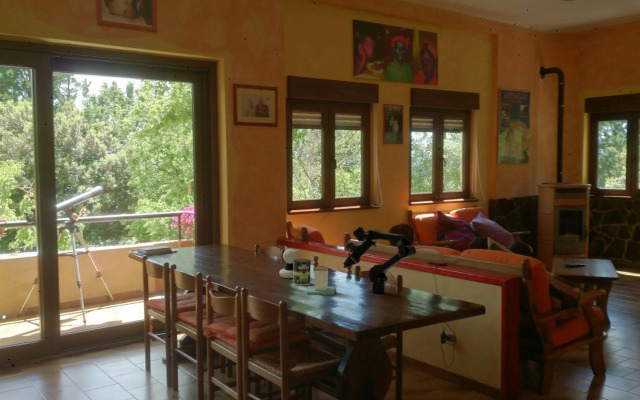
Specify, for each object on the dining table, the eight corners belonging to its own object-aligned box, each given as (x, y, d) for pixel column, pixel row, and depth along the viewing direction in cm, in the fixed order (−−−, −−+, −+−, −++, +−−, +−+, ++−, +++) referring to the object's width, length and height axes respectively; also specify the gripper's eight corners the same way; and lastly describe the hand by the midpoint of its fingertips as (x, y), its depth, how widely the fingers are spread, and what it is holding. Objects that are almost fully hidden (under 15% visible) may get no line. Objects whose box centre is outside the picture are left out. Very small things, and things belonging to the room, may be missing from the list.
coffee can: (312, 285, 341) (312, 261, 340) (295, 285, 338) (295, 261, 337) (308, 281, 351) (308, 258, 350) (291, 282, 348) (291, 259, 347)
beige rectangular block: (327, 287, 327) (328, 267, 326) (326, 290, 320) (327, 269, 320) (315, 287, 328) (315, 266, 327) (314, 290, 321) (314, 269, 320)
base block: (334, 290, 332) (334, 286, 331) (334, 296, 317) (334, 292, 316) (307, 289, 332) (308, 286, 332) (306, 295, 317) (307, 291, 317)
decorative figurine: (306, 276, 368) (307, 244, 367) (296, 280, 355) (296, 247, 354) (286, 273, 374) (286, 243, 373) (275, 277, 361) (275, 245, 360)
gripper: (353, 234, 337) (334, 253, 338) (354, 238, 318) (333, 258, 319) (366, 248, 337) (347, 266, 338) (368, 253, 319) (347, 272, 320)
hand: (343, 265), depth 329 cm, fingers open, 9 cm apart
